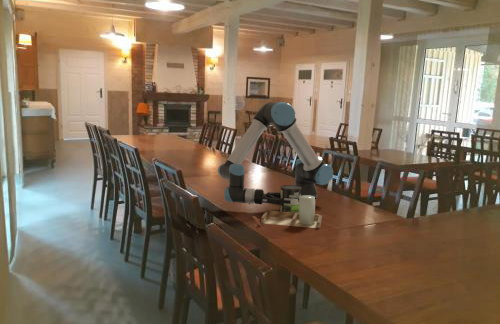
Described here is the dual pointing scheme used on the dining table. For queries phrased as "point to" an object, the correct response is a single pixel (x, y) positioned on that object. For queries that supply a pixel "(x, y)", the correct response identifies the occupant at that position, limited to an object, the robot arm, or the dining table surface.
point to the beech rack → (287, 219)
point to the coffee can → (290, 197)
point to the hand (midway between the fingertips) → (299, 199)
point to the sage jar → (306, 210)
